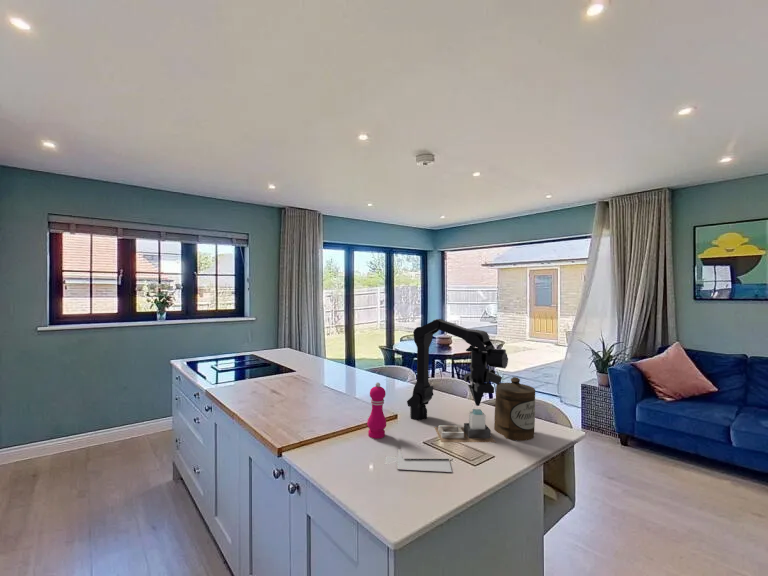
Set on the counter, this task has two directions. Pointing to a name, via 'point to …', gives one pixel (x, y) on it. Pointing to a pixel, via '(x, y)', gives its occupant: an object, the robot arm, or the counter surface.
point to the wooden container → (515, 410)
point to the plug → (477, 419)
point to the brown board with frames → (463, 434)
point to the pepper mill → (377, 413)
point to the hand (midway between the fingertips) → (477, 405)
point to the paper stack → (419, 463)
